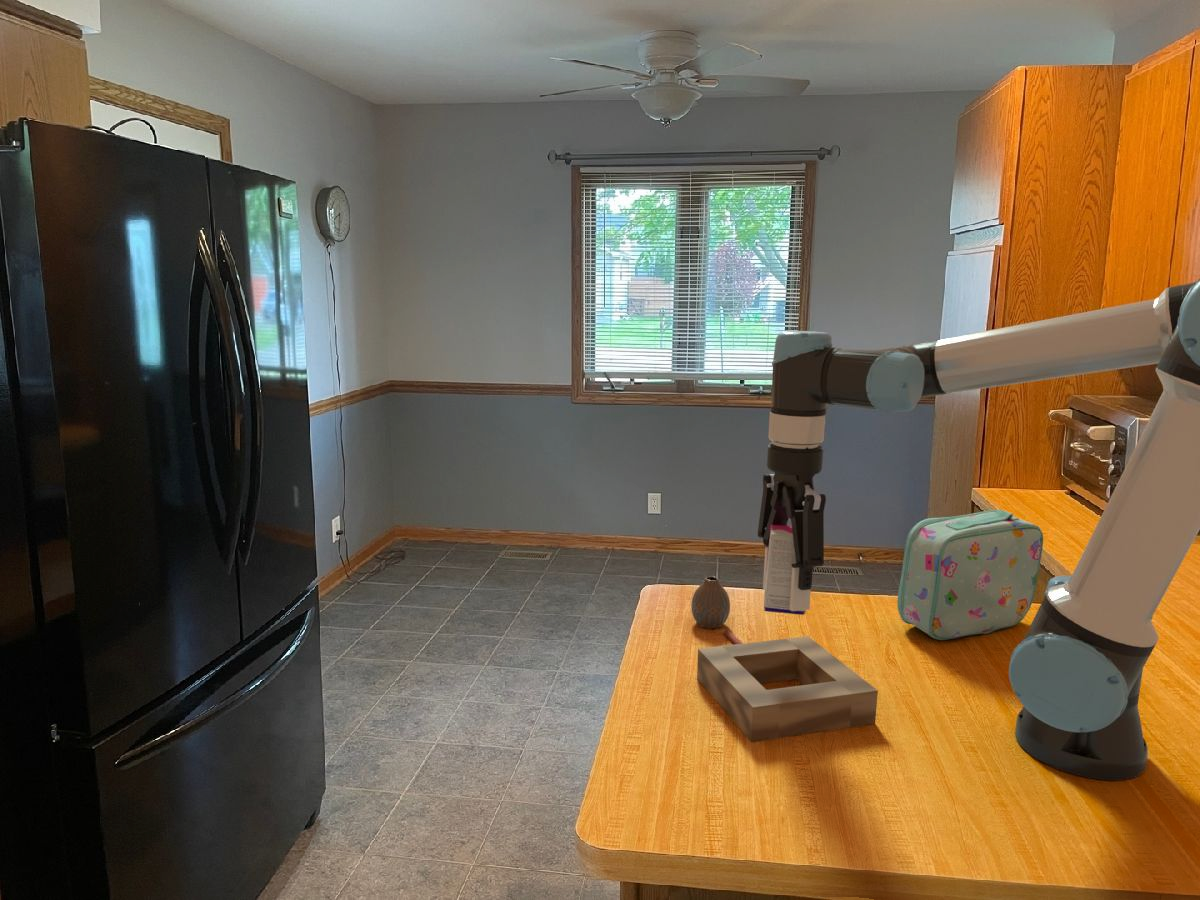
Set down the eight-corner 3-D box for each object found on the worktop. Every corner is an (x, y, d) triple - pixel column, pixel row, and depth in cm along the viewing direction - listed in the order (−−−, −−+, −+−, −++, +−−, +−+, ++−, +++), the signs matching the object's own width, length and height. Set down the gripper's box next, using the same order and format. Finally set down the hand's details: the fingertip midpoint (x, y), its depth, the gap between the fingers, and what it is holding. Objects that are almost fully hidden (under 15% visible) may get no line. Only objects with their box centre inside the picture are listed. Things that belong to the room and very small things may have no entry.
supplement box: (806, 615, 116) (812, 537, 114) (763, 611, 117) (768, 534, 115) (804, 600, 122) (810, 525, 120) (763, 597, 123) (768, 522, 121)
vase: (686, 628, 148) (687, 581, 146) (696, 614, 154) (698, 569, 153) (723, 634, 145) (726, 587, 144) (733, 620, 152) (735, 575, 150)
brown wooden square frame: (875, 723, 116) (877, 690, 115) (751, 741, 111) (752, 707, 110) (806, 665, 134) (808, 636, 133) (696, 678, 129) (698, 648, 128)
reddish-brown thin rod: (759, 663, 134) (760, 657, 134) (754, 664, 134) (754, 658, 134) (727, 633, 146) (728, 627, 146) (722, 633, 146) (722, 628, 146)
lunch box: (992, 605, 161) (1003, 498, 157) (1040, 624, 152) (1053, 511, 148) (888, 627, 149) (898, 512, 145) (933, 649, 140) (945, 528, 136)
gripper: (861, 456, 106) (847, 624, 111) (784, 430, 126) (775, 573, 130) (808, 459, 104) (796, 629, 109) (739, 431, 124) (731, 577, 128)
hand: (785, 598), depth 119 cm, fingers closed on supplement box, 7 cm apart
